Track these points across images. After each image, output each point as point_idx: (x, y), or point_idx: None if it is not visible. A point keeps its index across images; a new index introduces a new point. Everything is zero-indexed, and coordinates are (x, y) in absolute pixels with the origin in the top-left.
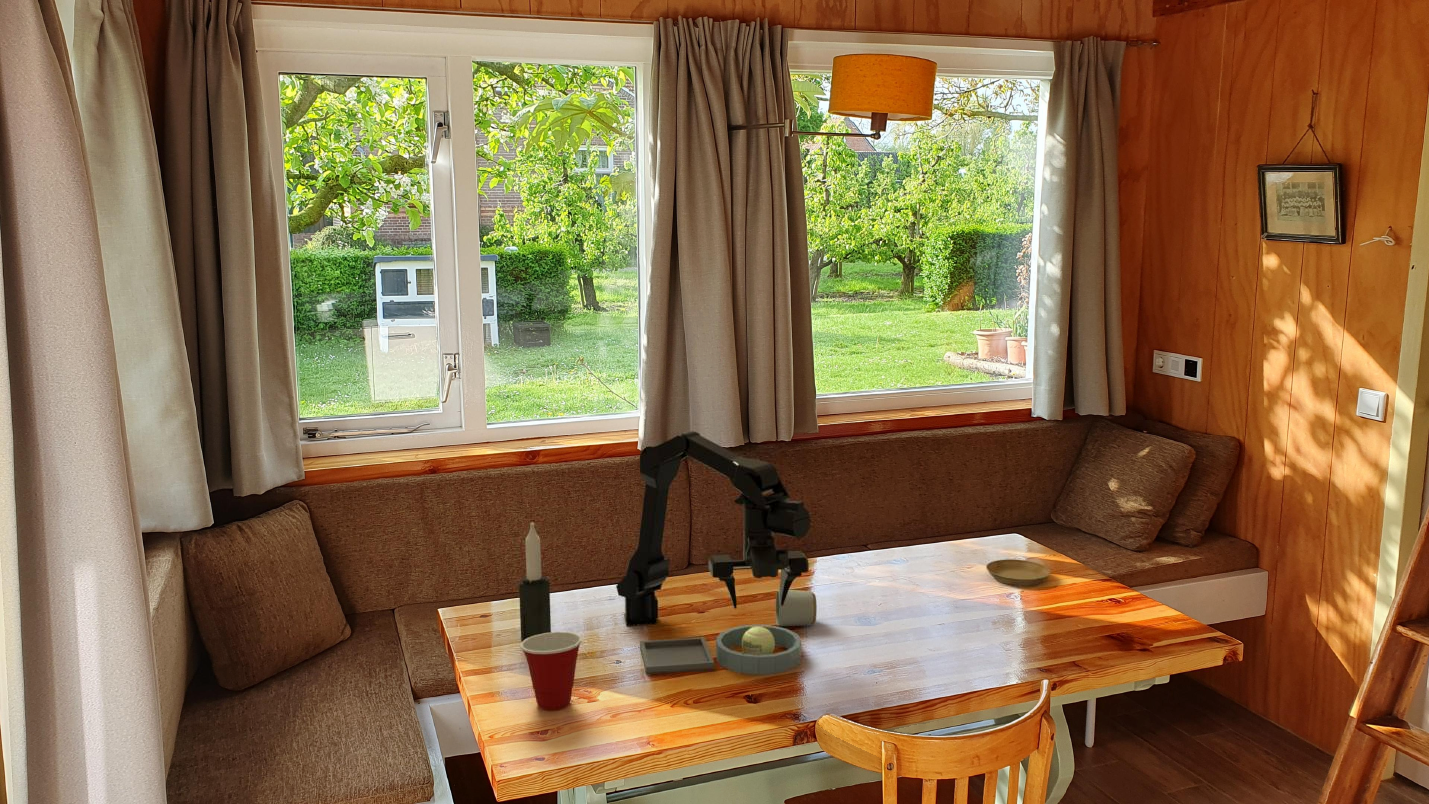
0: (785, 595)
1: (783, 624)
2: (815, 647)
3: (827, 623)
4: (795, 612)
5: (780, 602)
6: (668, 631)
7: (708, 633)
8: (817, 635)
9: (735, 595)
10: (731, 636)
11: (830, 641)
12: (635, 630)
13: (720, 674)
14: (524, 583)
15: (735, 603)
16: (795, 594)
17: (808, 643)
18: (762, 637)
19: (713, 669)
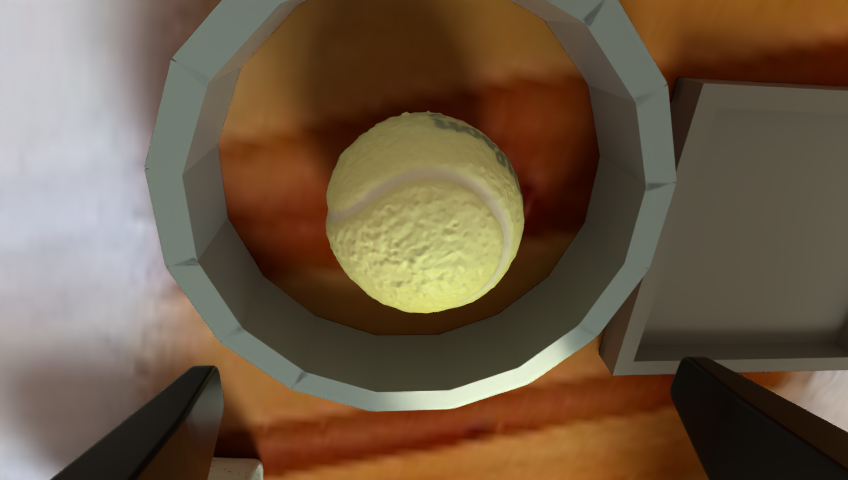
0: (99, 452)
1: (235, 458)
2: (99, 251)
3: (36, 471)
4: None
5: (213, 404)
6: (668, 461)
7: (544, 435)
8: (85, 373)
9: (833, 459)
10: (518, 342)
11: (14, 305)
12: None
13: (674, 9)
14: None
15: (736, 386)
16: None
17: (135, 300)
18: (425, 162)
19: (682, 78)
